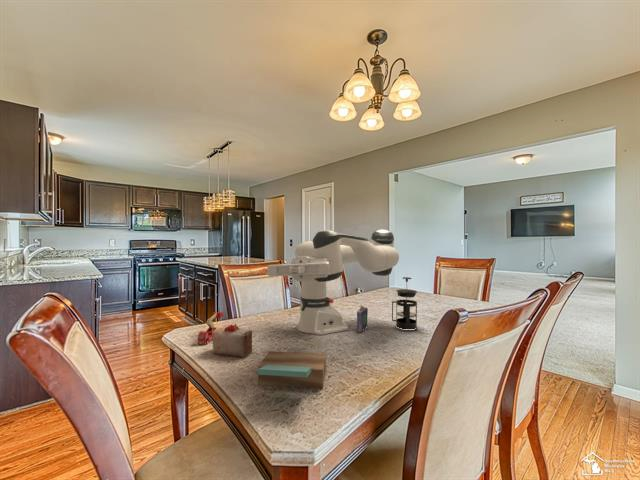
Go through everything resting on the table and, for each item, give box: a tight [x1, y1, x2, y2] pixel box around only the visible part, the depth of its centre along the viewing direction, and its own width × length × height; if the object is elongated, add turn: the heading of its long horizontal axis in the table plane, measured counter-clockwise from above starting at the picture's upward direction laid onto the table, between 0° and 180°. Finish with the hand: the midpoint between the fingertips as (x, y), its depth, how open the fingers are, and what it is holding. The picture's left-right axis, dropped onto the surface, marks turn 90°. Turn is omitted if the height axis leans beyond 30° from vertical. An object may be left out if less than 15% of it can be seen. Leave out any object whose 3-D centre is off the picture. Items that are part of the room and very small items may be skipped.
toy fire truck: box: [197, 311, 225, 345], centre depth 117 cm, size 3×14×10 cm, turn 168°
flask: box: [356, 304, 369, 333], centre depth 131 cm, size 9×3×11 cm, turn 151°
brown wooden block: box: [257, 350, 327, 389], centre depth 86 cm, size 11×18×5 cm, turn 84°
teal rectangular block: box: [256, 365, 311, 377], centre depth 75 cm, size 1×12×9 cm
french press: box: [391, 276, 418, 329], centre depth 134 cm, size 12×9×23 cm
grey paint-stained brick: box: [211, 323, 253, 358], centre depth 104 cm, size 14×8×10 cm, turn 76°
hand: (294, 270), depth 89 cm, fingers closed
